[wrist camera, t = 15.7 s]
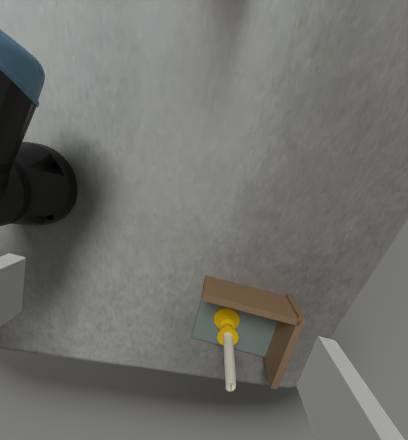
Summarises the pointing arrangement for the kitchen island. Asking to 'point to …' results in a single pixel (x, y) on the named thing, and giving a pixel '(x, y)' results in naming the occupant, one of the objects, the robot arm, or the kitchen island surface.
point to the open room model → (253, 322)
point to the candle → (228, 341)
